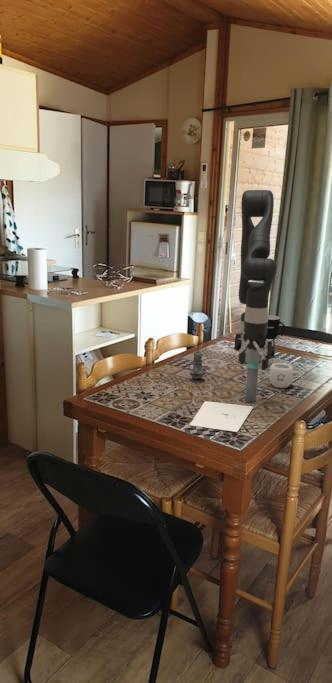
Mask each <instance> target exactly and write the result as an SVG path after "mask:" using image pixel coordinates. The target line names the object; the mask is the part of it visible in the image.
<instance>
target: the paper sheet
mask: <svg viewBox="0 0 332 683" xmlns="http://www.w3.org/2000/svg"><path fill="white" fill-rule="evenodd" d="M253 409H254V406H253V405H251V406H250V405H243V404H234V403H233V404H232V403H224V402H216V401H215V402H214V401H205V400H204V402H203V403H202V405H201V407H200V408H199V409H198V411H197V412H196V414H195V416H194V418H193V419H192V420H191V422H190V423H189V426H192V427H200V428H207V429H212V430H214V429H215V430H221V431H229V432H235V433H238V432H239V430H240V429H241V427H242V426H243V424H244V423H245V422H246V419H247V418H248V416H249V414H250V413H251V411H252V410H253Z"/></svg>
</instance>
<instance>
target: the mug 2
mask: <svg viewBox="0 0 332 683" xmlns="http://www.w3.org/2000/svg"><path fill="white" fill-rule="evenodd" d="M268 373H269V374H268V375H269V382H270V384H271V386H272V387H274V388H277V389H278V388H279V389H286V388H288V387H290V386H291V385H292V386H294V387H299V386H300V385H302V383H303V380H304V379H303V378H304V377H303V375H302V373H301V372H300V371H298V370H294V367H293V365H291V364H289V363H286V362H275V363H274V362H273V363H272V364H271V365H270V368H269V372H268ZM294 374H298V375H299V377H300V381H299V383H294V382H292V381H293V378H294Z"/></svg>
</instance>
